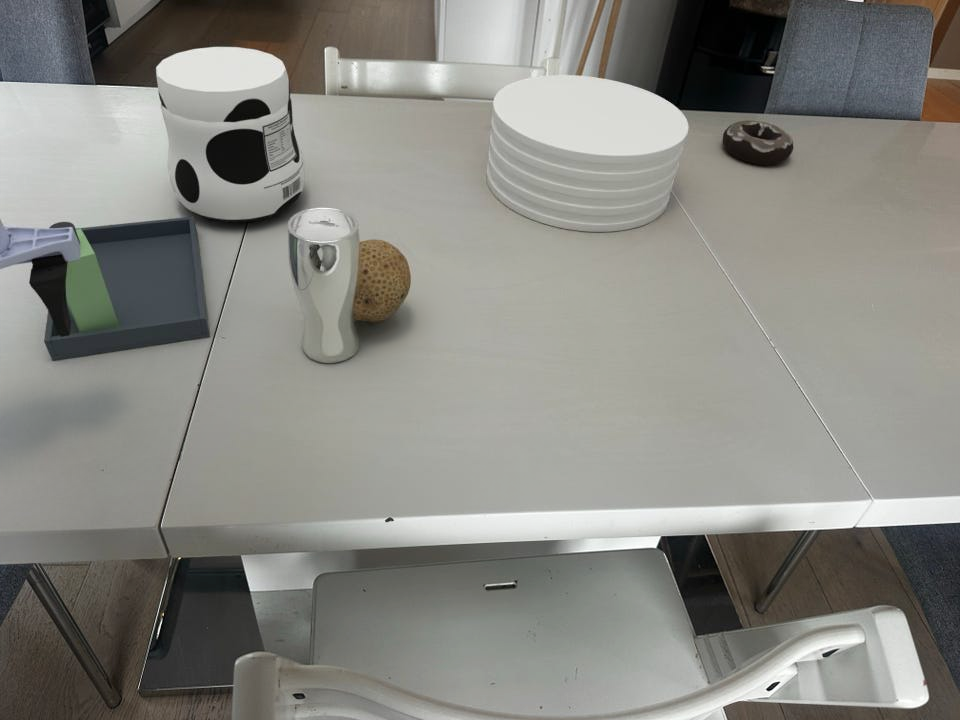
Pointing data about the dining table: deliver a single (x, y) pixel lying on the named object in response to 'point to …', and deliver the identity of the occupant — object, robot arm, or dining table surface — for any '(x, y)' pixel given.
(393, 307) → the natural sponge
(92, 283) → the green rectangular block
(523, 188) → the plate stack
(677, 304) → the dining table surface
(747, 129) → the donut
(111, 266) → the dark grey tray
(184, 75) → the milk container
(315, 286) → the beer glass
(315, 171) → the dining table surface
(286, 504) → the dining table surface
